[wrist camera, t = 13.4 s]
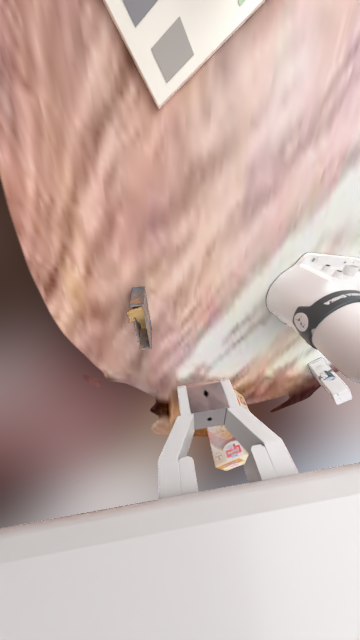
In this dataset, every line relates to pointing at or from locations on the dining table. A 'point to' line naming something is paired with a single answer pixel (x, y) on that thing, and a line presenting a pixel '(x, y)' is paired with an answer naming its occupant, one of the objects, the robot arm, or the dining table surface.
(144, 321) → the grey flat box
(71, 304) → the dining table surface
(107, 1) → the switch panel
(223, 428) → the coffeecake box
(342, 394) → the ink box
